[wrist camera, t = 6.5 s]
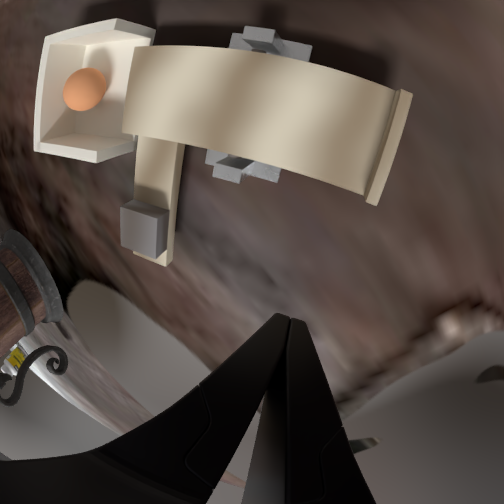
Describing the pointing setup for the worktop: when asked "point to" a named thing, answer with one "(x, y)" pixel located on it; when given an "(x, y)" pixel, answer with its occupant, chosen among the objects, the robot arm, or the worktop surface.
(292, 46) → the fulcrum
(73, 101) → the ball
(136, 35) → the tray
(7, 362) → the supplement bottle
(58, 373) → the tankard
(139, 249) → the lever
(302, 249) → the worktop surface
